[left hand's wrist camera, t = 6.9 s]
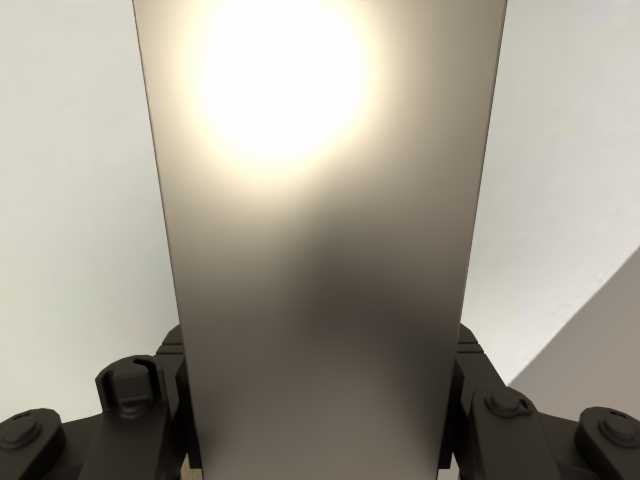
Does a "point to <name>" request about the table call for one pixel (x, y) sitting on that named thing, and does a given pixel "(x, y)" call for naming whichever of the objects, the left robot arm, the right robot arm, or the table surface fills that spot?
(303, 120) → the bar
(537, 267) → the table surface
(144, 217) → the table surface
